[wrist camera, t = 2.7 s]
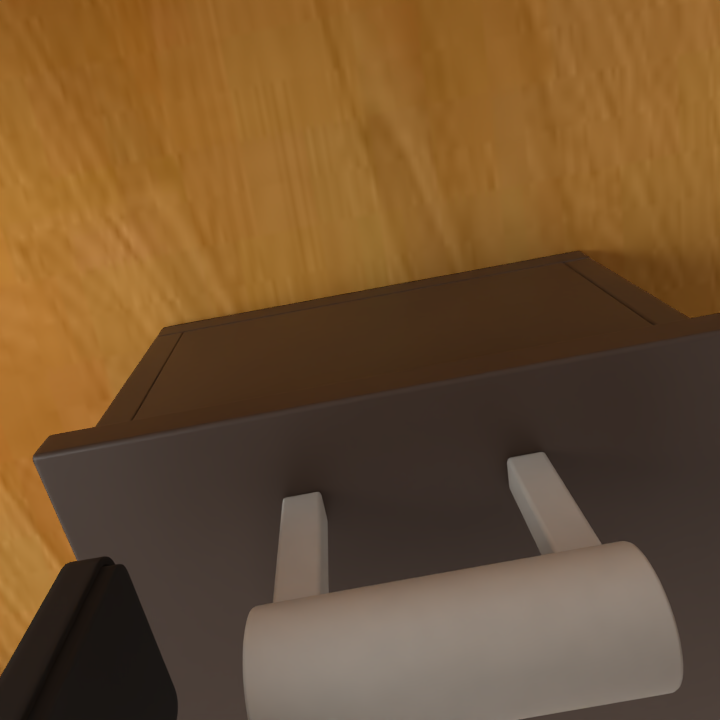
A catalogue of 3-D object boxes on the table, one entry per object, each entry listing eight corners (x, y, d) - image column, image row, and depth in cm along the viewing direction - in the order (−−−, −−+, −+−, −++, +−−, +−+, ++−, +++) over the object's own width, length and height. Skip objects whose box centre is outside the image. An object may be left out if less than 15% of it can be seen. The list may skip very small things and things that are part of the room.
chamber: (162, 327, 19) (64, 469, 12) (579, 250, 19) (741, 346, 11) (272, 674, 25) (252, 914, 17) (593, 618, 24) (707, 837, 17)
